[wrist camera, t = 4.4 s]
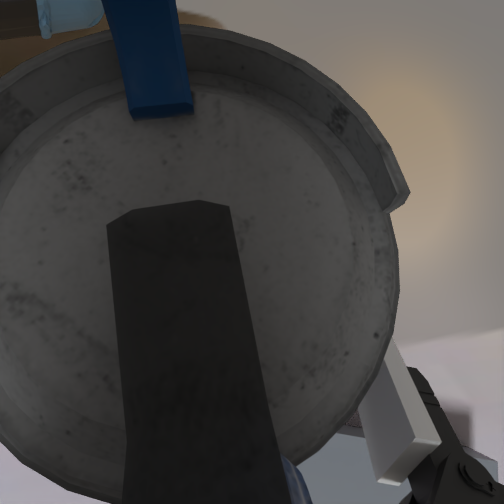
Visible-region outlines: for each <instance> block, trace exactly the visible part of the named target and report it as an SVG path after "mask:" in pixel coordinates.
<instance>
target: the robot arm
mask: <svg viewBox="0 0 504 504" xmlns="http://www.w3.org/2000/svg"><path fill="white" fill-rule="evenodd" d="M103 14H104V8H103V5H102V2H101V0H0V40H3V39H11V38H20V37H29V36H38V35H41V36H42V38H43V39H49V38H51V36H52V34H56V33H62V32H68V31H74V30H80V29H86V28H90V27H92V26H94V25H96V24H97V23H98V22H99V21H100V20H101V18H102V17H103ZM358 412H359V416H360V420H361V424H362V428H363V431H364V435H365V439H366V443H367V447H368V451H369V455H370V458H371V462H372V466H373V470H374V474H375V478H376V482H379V483H384V484H390V485H396V486H400V485H401V484H402V483H403V482H404V481H405V480H406V478H407V477H408V480H409V483H410V486H411V489H412V491H411V492H410V493H409V494H408V495H407V496H405V497H404V498H403V499H402V500H401V501H400V503H399V504H504V485H502V484H500V483H498V482H496V481H495V480H494V478H493V477H492V476H491V474H490V473H489V472H488V470H487V469H486V468H485V467H484V466H483V465H482V464H481V463H480V462H479V461H478V460H476V459H475V458H473V457H472V456H470V455H468V454H467V453H465V451H464V450H463V448H462V446H461V444H460V442H459V440H458V438H457V436H456V434H455V433H454V431H453V429H452V427H451V425H450V423H449V421H448V419H447V417H446V415H445V413H444V412H443V410H442V408H440V404H439V402H438V400H437V398H436V397H435V396H434V392H433V390H432V389H431V387H430V385H429V383H428V381H427V380H426V379H425V377H424V376H423V375H422V374H421V373H420V372H419V371H418V370H417V368H412V367H407V366H406V365H405V363H404V361H403V359H402V357H401V355H400V353H399V350H398V348H397V346H396V344H395V342H394V340H393V338H391V340H390V343H389V346H388V349H387V351H386V354H385V357H384V360H383V362H382V365H381V368H380V370H379V373H378V375H377V377H376V379H375V380H374V382H373V384H372V385H371V387H370V388H369V390H368V392H367V393H366V395H365V396H364V398H363V400H362V401H361V403H360V405H359V406H358Z"/></svg>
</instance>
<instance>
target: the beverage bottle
mask: <svg viewBox="0 0 504 504" xmlns="http://www.w3.org/2000/svg"><path fill="white" fill-rule="evenodd" d="M101 2H102V5H103V8H104V11H105V14H106V17H107V21H108V24H109V27H110V30H105V31H101V32H98V33H95V34H92V35H88V36H85V37H82V38H78V39H75V40H72V41H68V42H65V43H62V44H60V45H58V46H56V47H54V48H52V49H50V50H48V51H46V52H43V53H41V54H39V55H37V56H35V57H33V58H31V59H29V60H27V61H25V62H23V63H21V64H20V65H18V66H17V67H15V68H14V69H12V70H11V71H9V72H8V73H7V74H5V75H4V76H2V77H1V78H0V442H1V443H2V444H3V445H4V446H5V447H6V448H7V449H8V450H9V451H10V452H11V453H12V454H13V455H14V456H15V457H16V458H17V459H18V460H19V461H20V462H21V463H22V464H24V465H26V466H27V467H29V468H31V469H32V470H34V471H36V472H37V473H39V474H41V475H42V476H44V477H46V478H47V479H49V480H51V481H52V482H54V483H56V484H57V485H59V486H61V487H63V488H64V489H66V490H68V491H71V492H74V493H78V494H81V495H84V496H87V497H91V498H94V499H97V500H101V501H104V502H107V503H110V504H313V503H312V500H311V497H310V494H309V491H308V488H307V485H306V483H305V481H304V478H303V476H302V473H301V472H300V471H299V469H298V468H297V467H296V466H298V465H299V464H301V463H302V462H304V461H305V460H307V459H308V458H309V457H311V456H312V455H314V454H315V453H317V452H318V451H319V450H320V449H321V448H322V447H323V446H324V445H325V444H326V443H327V442H328V441H329V440H330V439H331V438H332V437H333V436H334V435H335V434H336V432H337V431H338V430H339V429H340V428H341V427H342V426H343V425H344V424H345V423H346V422H347V421H348V420H349V419H350V418H351V417H352V416H353V414H354V413H355V411H356V409H357V408H358V406H359V405H360V403H361V401H362V400H363V398H364V396H365V395H366V393H367V392H368V390H369V388H370V387H371V385H372V384H373V382H374V380H375V379H376V377H377V375H378V373H379V370H380V368H381V365H382V362H383V360H384V357H385V354H386V351H387V349H388V346H389V343H390V340H391V338H392V335H393V331H394V324H395V318H396V312H397V305H398V299H399V292H400V285H399V258H398V248H397V244H396V239H395V235H394V231H393V227H392V222H391V218H390V214H389V213H391V212H392V211H393V210H395V209H397V208H398V207H400V206H401V205H403V204H404V203H405V201H406V200H407V198H408V196H409V194H410V190H409V188H408V185H407V183H406V181H405V178H404V176H403V174H402V172H401V169H400V167H399V165H398V162H397V160H396V158H395V155H394V153H393V151H392V148H391V146H390V145H389V143H388V142H387V140H386V139H385V138H384V136H383V135H382V133H381V132H380V131H379V129H378V128H377V126H376V125H375V124H374V122H373V121H372V119H371V118H370V116H369V115H368V114H367V112H366V111H365V110H364V109H363V108H362V107H361V106H360V105H359V104H358V103H357V102H356V101H355V100H353V98H352V97H351V96H349V94H348V93H347V92H346V91H345V90H343V88H342V87H341V86H340V85H339V84H337V83H336V82H335V81H333V80H332V79H330V78H329V77H328V76H326V75H325V74H323V73H322V72H321V71H319V70H317V69H316V68H315V67H313V66H312V65H311V64H309V63H308V62H306V61H305V60H303V59H301V58H299V57H297V56H295V55H293V54H291V53H289V52H287V51H285V50H283V49H281V48H279V47H277V46H274V45H273V44H271V43H268V42H265V41H262V40H258V39H255V38H252V37H248V36H245V35H243V34H239V33H236V32H233V31H229V30H223V29H216V28H210V27H204V26H197V25H191V24H179V20H178V14H177V8H176V1H175V0H101Z"/></svg>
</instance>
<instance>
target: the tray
mask: <svg viewBox="0 0 504 504" xmlns="http://www.w3.org/2000/svg"><path fill="white" fill-rule="evenodd" d="M462 448H463V450H464V451H465V453H467V454H468V455H470V456H472V457H473V458H475V459H476V460H478V461H479V462H480V463H481V464H482V465H483V466H484V467H485V468H486V469H487V470H488V472H489V473H490V474H491V476H492V477H493V478H494V480H495V481H496V482H498V462H497V461H495V460H493V459H491V458H489V457H487V456H485V455H483V454H481V453H479V452H477V451H475V450H473V449H471V448H469V447H466V446H462ZM296 467H297V468H298V469H299V471H300V472H301V473H302V476H303V478H304V481H305V483H306V485H307V488H308V491H309V494H310V497H311V500H312V503H313V504H399V503H400V501H401V500H402V499H403V498H404V497H405V496H407V495H408V494H409V493H410V492H411V491H412V489H411V486H410V483H409V480H408V477H407V478H406V480H405V481H404V482H403V483H402V484H401V485H400V486H396V485H390V484H384V483H379V482H376V478H375V474H374V470H373V466H372V462H371V458H370V455H369V451H368V447H367V443H366V439H365V435H364V431H363V428H360V427H354V426H348V425H343V426H342V427H341V428H340V429H339V430H338V431H337V432H336V434H335V435H334V436H333V437H332V438H331V439H330V440H329V441H328V442H327V443H326V444H325V445H324V446H323V447H322V448H321V449H320V450H319V451H318V452H317V453H315V454H314V455H312V456H311V457H309V458H308V459H307V460H305V461H304V462H302V463H301V464H299V465H298V466H296Z"/></svg>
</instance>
